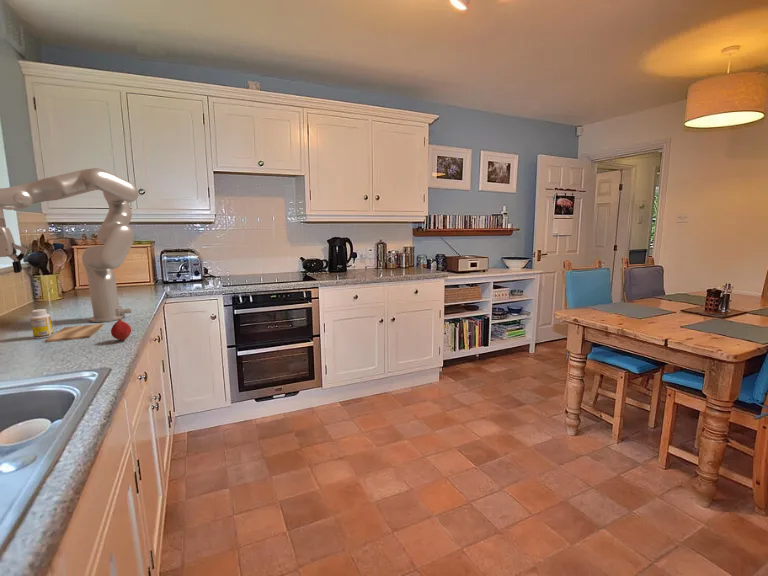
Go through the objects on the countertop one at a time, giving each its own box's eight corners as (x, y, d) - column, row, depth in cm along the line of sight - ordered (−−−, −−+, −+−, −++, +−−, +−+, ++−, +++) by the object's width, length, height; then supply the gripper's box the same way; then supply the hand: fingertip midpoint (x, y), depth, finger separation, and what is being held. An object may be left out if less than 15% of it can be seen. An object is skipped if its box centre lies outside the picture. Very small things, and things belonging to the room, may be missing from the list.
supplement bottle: (45, 334, 147) (40, 308, 145) (57, 334, 146) (52, 308, 144) (29, 338, 141) (24, 311, 139) (42, 339, 140) (37, 312, 138)
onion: (111, 344, 133) (108, 322, 131) (114, 340, 138) (110, 318, 136) (131, 341, 135) (128, 319, 134) (133, 337, 140) (130, 316, 139)
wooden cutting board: (103, 325, 158) (103, 323, 158) (89, 337, 141) (89, 335, 141) (64, 329, 153) (64, 327, 153) (45, 342, 137) (44, 340, 136)
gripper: (-50, 225, 127) (-39, 276, 130) (16, 223, 133) (26, 273, 136) (-36, 224, 134) (-25, 273, 137) (27, 223, 140) (36, 270, 143)
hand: (0, 273), depth 136 cm, fingers open, 9 cm apart
